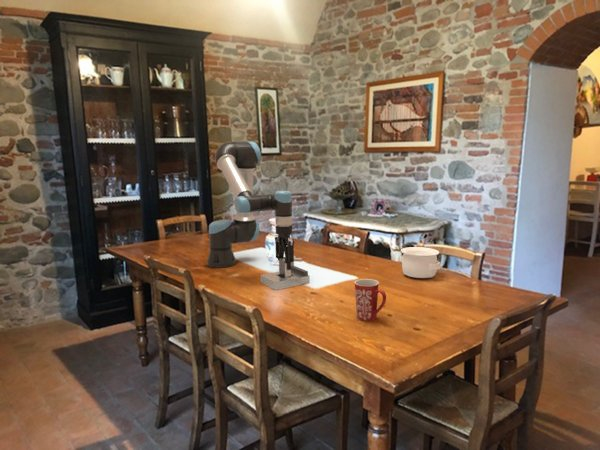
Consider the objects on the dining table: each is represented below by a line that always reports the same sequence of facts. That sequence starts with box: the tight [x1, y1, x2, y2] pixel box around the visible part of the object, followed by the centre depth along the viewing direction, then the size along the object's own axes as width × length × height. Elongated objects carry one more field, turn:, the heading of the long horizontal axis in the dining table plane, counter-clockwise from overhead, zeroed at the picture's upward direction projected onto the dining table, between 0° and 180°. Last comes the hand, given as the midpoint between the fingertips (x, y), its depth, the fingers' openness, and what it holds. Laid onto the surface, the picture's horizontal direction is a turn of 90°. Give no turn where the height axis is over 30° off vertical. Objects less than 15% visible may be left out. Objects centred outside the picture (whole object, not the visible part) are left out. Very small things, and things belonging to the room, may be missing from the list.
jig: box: [259, 265, 311, 291], centre depth 216 cm, size 14×18×6 cm
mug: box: [353, 278, 387, 322], centre depth 171 cm, size 13×9×14 cm
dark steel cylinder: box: [278, 256, 290, 278], centre depth 215 cm, size 5×5×10 cm
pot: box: [398, 246, 441, 279], centre depth 224 cm, size 22×17×12 cm
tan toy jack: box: [291, 255, 303, 266], centre depth 239 cm, size 10×10×10 cm
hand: (285, 275), depth 216 cm, fingers closed on dark steel cylinder, 5 cm apart
